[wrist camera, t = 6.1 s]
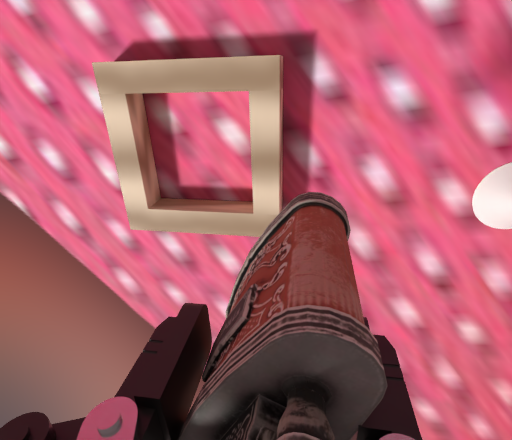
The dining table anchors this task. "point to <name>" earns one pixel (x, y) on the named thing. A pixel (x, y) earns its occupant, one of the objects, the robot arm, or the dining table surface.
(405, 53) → the dining table surface
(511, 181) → the champagne flute
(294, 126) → the dining table surface
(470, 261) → the dining table surface
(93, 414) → the robot arm
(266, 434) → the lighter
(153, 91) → the square beige frame
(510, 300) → the dining table surface
